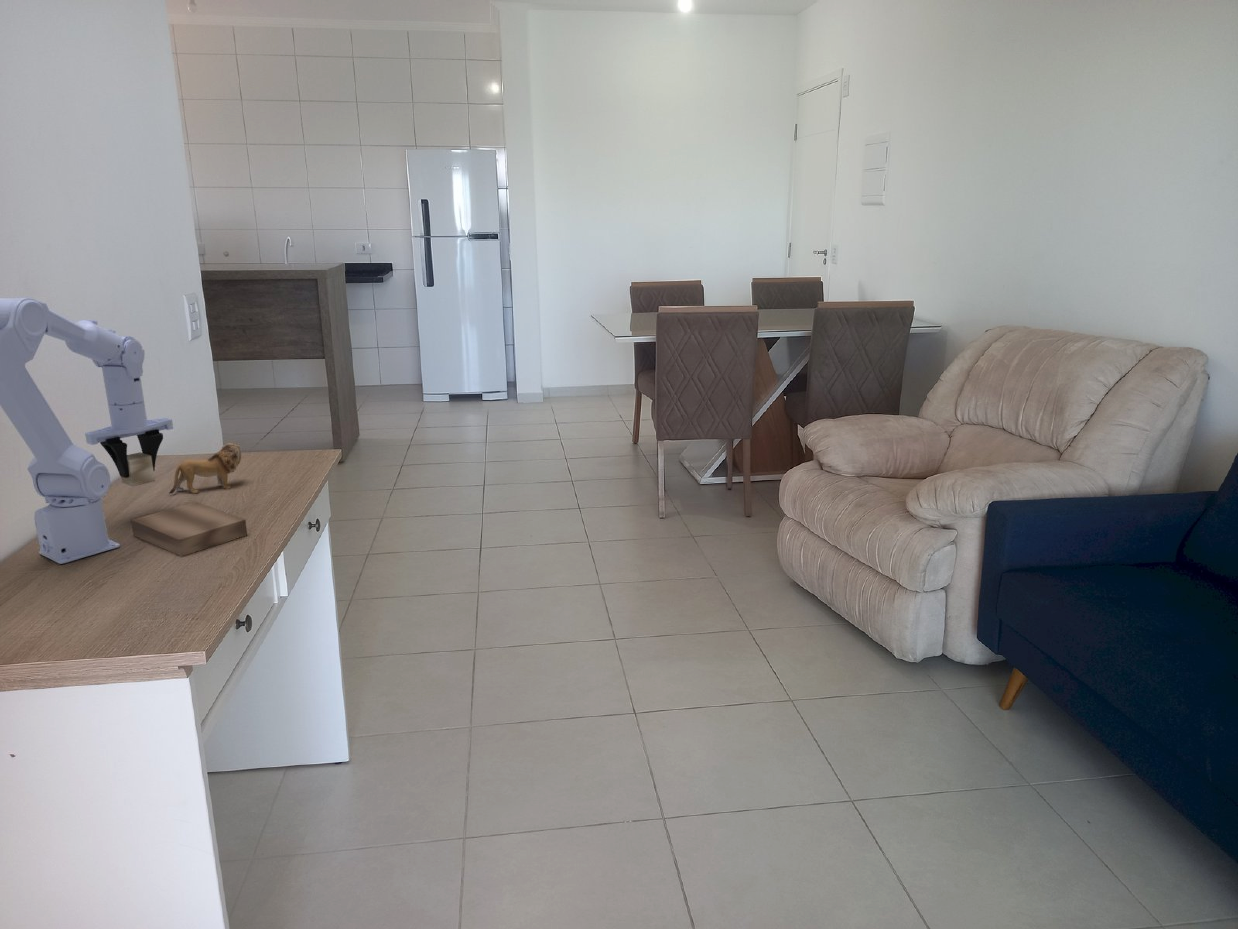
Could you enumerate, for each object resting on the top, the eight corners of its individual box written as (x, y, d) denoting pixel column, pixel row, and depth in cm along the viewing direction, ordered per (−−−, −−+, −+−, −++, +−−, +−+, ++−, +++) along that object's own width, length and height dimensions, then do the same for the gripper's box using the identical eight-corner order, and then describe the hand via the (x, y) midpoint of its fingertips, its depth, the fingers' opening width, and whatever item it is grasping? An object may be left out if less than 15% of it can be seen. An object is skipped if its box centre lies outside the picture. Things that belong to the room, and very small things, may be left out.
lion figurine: (240, 479, 180) (235, 439, 178) (248, 485, 176) (243, 444, 174) (166, 493, 171) (159, 451, 168) (172, 499, 167) (166, 456, 165)
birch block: (133, 486, 153) (128, 460, 151) (122, 482, 155) (117, 456, 154) (155, 481, 156) (151, 455, 155) (144, 477, 158) (140, 452, 157)
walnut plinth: (181, 556, 140) (179, 539, 139) (133, 535, 148) (130, 519, 148) (247, 535, 149) (245, 519, 148) (198, 516, 158) (196, 501, 157)
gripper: (154, 392, 159) (165, 461, 163) (72, 406, 147) (85, 479, 151) (174, 397, 155) (184, 467, 159) (91, 411, 144) (104, 486, 148)
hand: (137, 473), depth 155 cm, fingers closed on birch block, 4 cm apart
